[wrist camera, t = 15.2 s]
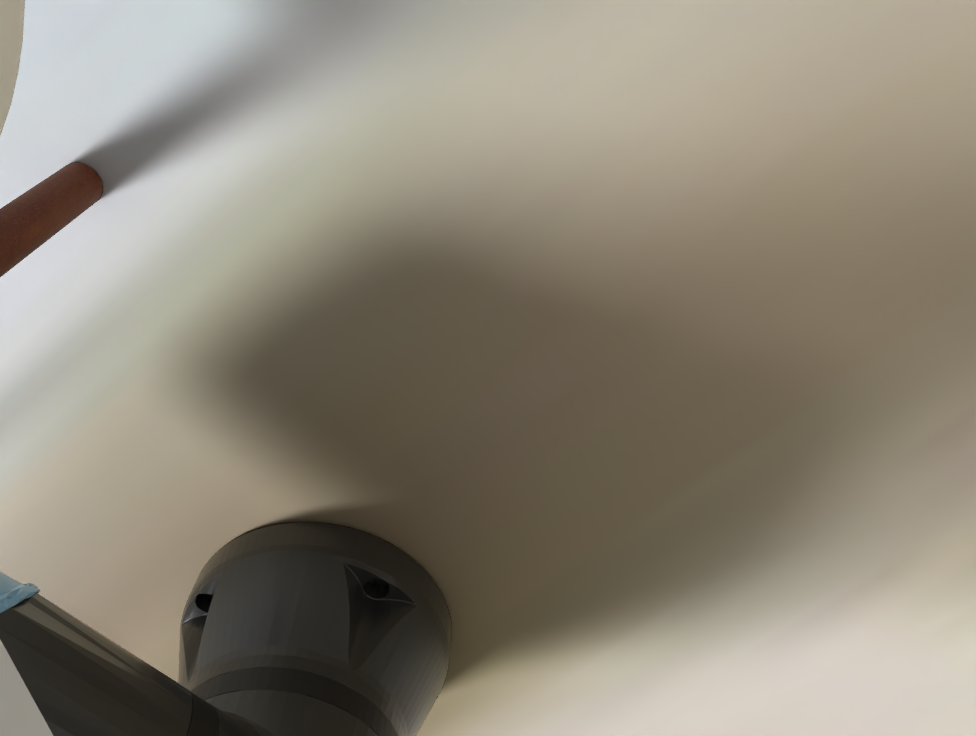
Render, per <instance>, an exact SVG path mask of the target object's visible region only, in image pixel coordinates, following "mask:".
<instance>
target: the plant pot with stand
mask: <svg viewBox="0 0 976 736" xmlns="http://www.w3.org/2000/svg"><path fill="white" fill-rule="evenodd" d="M24 8H25V0H0V135H1V133H2V130H3V127H4V124H5V121H6V117H7V114H8V111H9V108H10V105H11V102H12V97H13V93H14V89H15V84H16V80H17V75H18V70H19V63H20V56H21V49H22V41H23V26H24ZM102 193H103V184H102V181H101V178H100V177H99V175H98V173H97V172H96V171H95V170H94V169H92V168H91V167H89V166H87V165H86V164H82V163H71V164H69V165H66V166H65V167H63V168H62V169H60V170H59V171H57V172H56V173H54V174H53V175H51V176H50V177H48V178H47V179H45V180H44V181H42V182H41V183H39V184H38V185H36V186H35V187H33V188H31V189H30V190H28V191H27V192H25V193H24V194H22V195H21V196H19V197H18V198H16V199H15V200H13V201H12V202H10V203H9V204H7V205H6V206H4V207H3V208H1V209H0V277H1V276H2V275H4V274H5V273H6V272H7V271H9V270H10V269H11V268H13V267H14V266H15V265H16V264H18V263H19V262H20V261H22V260H23V259H24V258H25V257H27V256H28V255H29V254H30V253H32V252H33V251H34V250H36V249H37V248H38V247H39V246H41V245H42V244H43V243H44V242H46V241H47V240H48V239H50V238H51V237H52V236H53V235H55V234H56V233H57V232H58V231H60V230H61V229H62V228H64V227H65V226H66V225H67V224H69V223H70V222H71V221H72V220H74V219H75V218H76V217H78V216H79V215H80V214H81V213H83V212H84V211H85V210H86V209H88V208H89V207H90V206H92V205H93V204H94V203H95V202H97V201H98V200H99V199H100V198H101V195H102Z"/></svg>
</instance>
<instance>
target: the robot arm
mask: <svg viewBox="0 0 976 736" xmlns="http://www.w3.org/2000/svg"><path fill="white" fill-rule="evenodd" d="M39 591H40V589H39V588H37V587H36V586H35V585H33V584H31V583H29V584H21V583H20V582H18V581H16V580H14V579H12V578H11V577H9V576H7V575H5V574H4V573H2V572H0V736H416V735H417V733H418V731H419V730H420V728H421V726H422V724H423V722H424V721H425V719H426V717H427V715H428V713H429V712H430V710H431V708H432V706H433V704H434V702H435V700H436V699H437V697H438V695H439V693H440V691H441V689H442V687H443V684H444V681H445V678H446V675H447V671H448V666H449V657H450V648H451V639H452V625H451V618H450V614H449V610H448V607H447V604H446V602H445V600H444V598H443V595H442V593H441V592H440V590H439V588H438V587H437V585H436V584H435V583H434V581H433V580H432V579H431V577H430V576H429V575H428V574H427V573H426V572H425V571H424V570H423V569H422V568H421V566H419V565H418V564H417V563H416V562H415V561H414V560H413V559H411V558H410V557H409V556H407V555H406V554H405V553H403V552H402V551H400V550H399V549H397V548H396V547H394V546H392V545H390V544H389V543H387V542H385V541H383V540H381V539H379V538H376V537H374V536H372V535H369V534H366V533H363V532H361V531H357V530H354V529H351V528H346V527H342V526H337V525H331V524H323V523H309V522H303V523H286V524H278V525H273V526H268V527H265V528H261V529H258V530H255V531H252V532H249V533H247V534H244V535H242V536H240V537H238V538H236V539H234V540H233V541H231V542H230V543H228V544H227V545H225V546H224V547H223V548H221V549H220V550H219V551H218V552H217V553H215V554H214V555H213V557H212V558H211V559H210V560H209V561H208V562H207V564H206V565H205V566H204V568H203V569H202V571H201V573H200V575H199V577H198V579H197V581H196V583H195V585H194V587H193V589H192V592H191V594H190V596H189V598H188V600H187V602H186V605H185V608H184V612H183V616H182V620H181V626H180V652H179V683H177V682H176V681H174V680H172V679H171V678H169V677H168V676H166V675H165V674H163V673H161V672H160V671H158V670H157V669H155V668H154V667H152V666H150V665H149V664H147V663H146V662H144V661H143V660H141V659H139V658H138V657H136V656H135V655H133V654H132V653H130V652H128V651H127V650H125V649H124V648H122V647H121V646H119V645H117V644H116V643H114V642H113V641H111V640H110V639H108V638H106V637H105V636H103V635H102V634H100V633H99V632H97V631H95V630H94V629H92V628H91V627H89V626H88V625H86V624H84V623H83V622H81V621H80V620H78V619H77V618H75V617H73V616H72V615H70V614H69V613H67V612H66V611H64V610H62V609H61V608H59V607H58V606H56V605H55V604H53V603H51V602H50V601H48V600H47V599H45V598H44V597H42V596H40V595H39V594H37V593H39Z"/></svg>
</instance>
